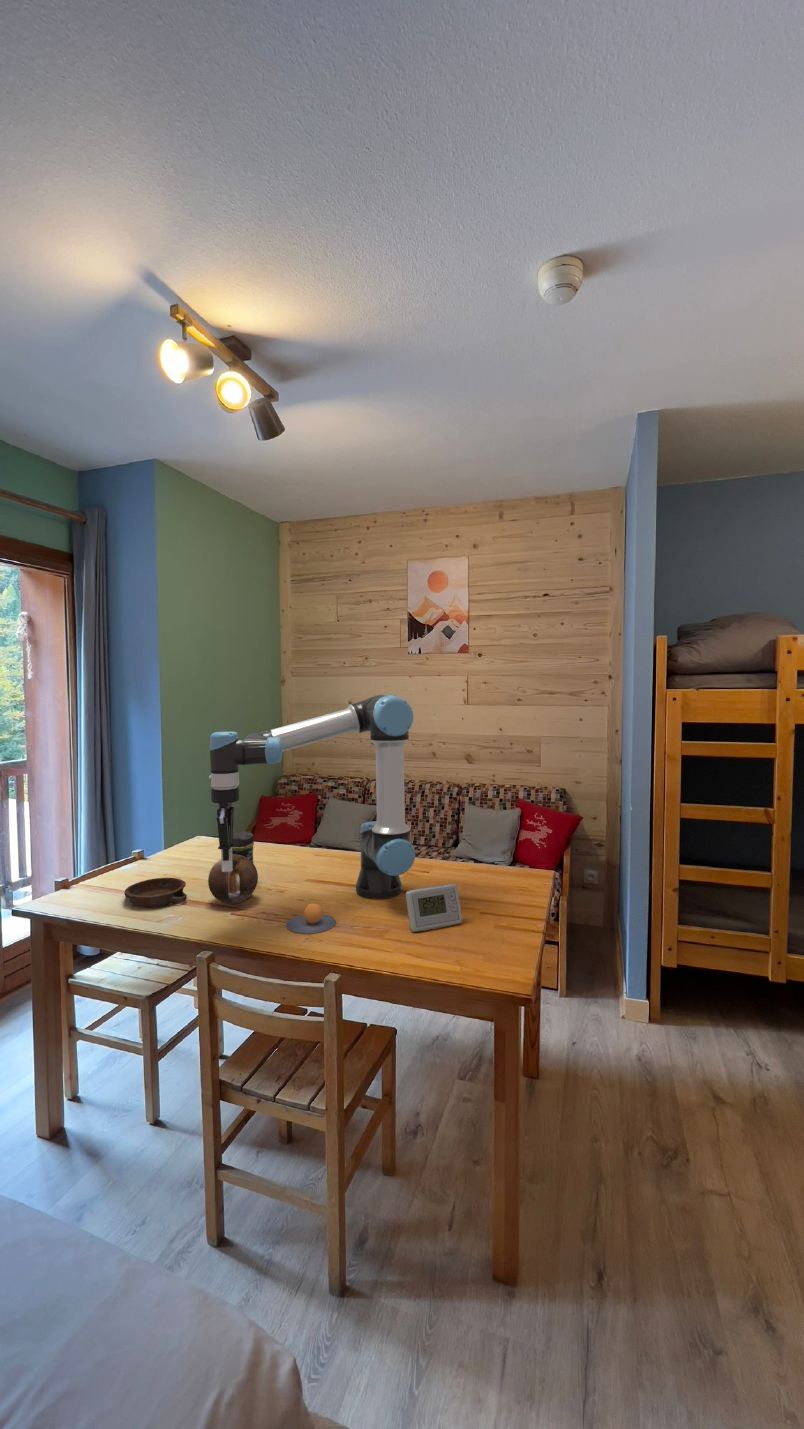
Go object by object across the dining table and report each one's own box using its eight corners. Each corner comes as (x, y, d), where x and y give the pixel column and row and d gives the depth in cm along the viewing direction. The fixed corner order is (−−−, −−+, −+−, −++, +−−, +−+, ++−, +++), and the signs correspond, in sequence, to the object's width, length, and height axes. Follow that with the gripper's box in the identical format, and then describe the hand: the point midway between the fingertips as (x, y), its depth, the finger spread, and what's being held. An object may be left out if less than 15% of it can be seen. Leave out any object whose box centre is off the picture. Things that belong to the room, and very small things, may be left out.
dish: (144, 889, 200) (143, 875, 200) (202, 894, 195) (202, 879, 195) (107, 908, 183) (106, 893, 183) (170, 914, 178) (169, 898, 178)
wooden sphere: (219, 893, 195) (218, 848, 194) (264, 894, 194) (263, 848, 193) (201, 911, 180) (199, 862, 179) (249, 911, 179) (248, 862, 178)
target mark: (335, 913, 177) (335, 912, 177) (335, 932, 164) (335, 931, 164) (288, 915, 176) (288, 914, 176) (284, 935, 162) (284, 934, 162)
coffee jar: (244, 893, 195) (243, 837, 194) (223, 891, 197) (221, 836, 196) (258, 883, 205) (257, 830, 204) (237, 881, 207) (236, 828, 206)
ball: (302, 902, 172) (304, 920, 173) (302, 909, 167) (304, 928, 167) (321, 899, 173) (323, 917, 173) (321, 906, 168) (324, 925, 168)
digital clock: (409, 934, 162) (408, 896, 162) (402, 921, 171) (402, 885, 171) (466, 929, 165) (466, 891, 165) (457, 916, 174) (457, 881, 173)
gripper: (216, 783, 171) (218, 864, 173) (205, 791, 158) (208, 878, 160) (242, 783, 172) (244, 863, 173) (234, 791, 159) (236, 877, 160)
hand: (227, 870), depth 166 cm, fingers closed
